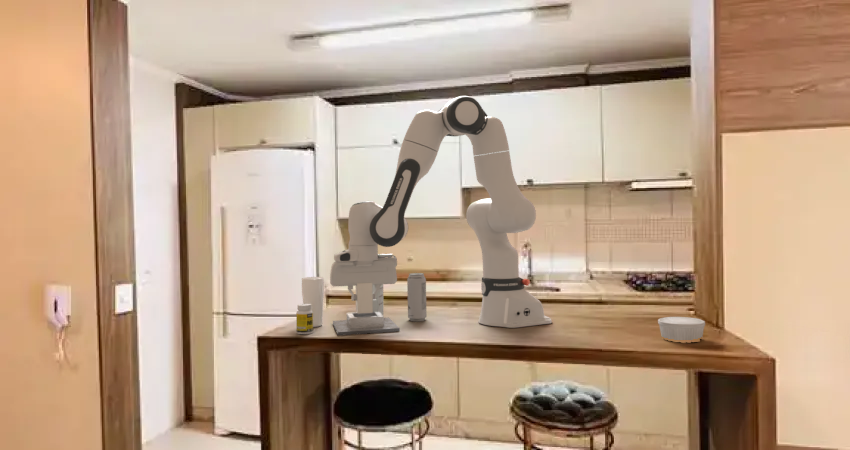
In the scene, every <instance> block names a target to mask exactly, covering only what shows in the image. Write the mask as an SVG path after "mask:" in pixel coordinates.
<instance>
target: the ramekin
mask: <svg viewBox="0 0 850 450" xmlns="http://www.w3.org/2000/svg"><path fill="white" fill-rule="evenodd" d="M657 323H658V325H659V332H660V334H661V338H662V337H664V338H668V339H674V340H693V339H698V338H701V337H702V338H703V337H704V330H705V326H706V321H705V320H702V319H700V318H696V317H687V316H666V317H660V318H658V319H657Z"/></svg>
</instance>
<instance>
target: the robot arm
mask: <svg viewBox="0 0 850 450" xmlns="http://www.w3.org/2000/svg"><path fill="white" fill-rule="evenodd" d="M448 136H449V137H459V136H460V137H461V136H466V137H467V138H468V139H469V140H470V142H471V146H472V154H473V161H474V169H475V176H476V177H475V178H476V181H477V182H478V183H479V184H480V185H481V186H482V187H484V189H485V190H486V192H487V193H488V195H489V197H488V198H487V197H486V198H482V199H478V200H476V201H473V202H471V204H469V206H468V207H467V209H466V214H465V217H466V222H467V224H468V226H469V227H470V228H471V229H472V230H473V231H474V233H475V235H476V237H477V240H478V242H479V247H480V251H481V259H482V277H481V295H482V301H481V308H480V309H481V310H480V314H479V318H478V323H479V324H481V325H485V326H490V327H491V326H492V327H503V328H508V329H509V328H510V329H514V328H523V327H531V326H538V325H539V326H540V325H549V324H552V318H551V317H549V316H547V315H545V312H544V306H543V304H542V301H540V300H539V299H538V298H537V297H535V296H534V295H533V294H532V293H530V291H528V290H526V289H525V286H526V287H528V286H530V284H531V281H530V279H529V278H522V277H520V276H519V274H520V273H519V252H518V250H517V249H516V248H515V247H514V246H513V245H512V244H511V242H510V240H509V238H508V234H517V233H523V232H525V231H528V230H530V229H531V228H532V227H533V225H534V224H535V221H536V218H537V210H536V208H535V207H536V206H535V205H534V204H533V202H532V201H531V200H530V199H528V198H527V197H526V196H525V195H524V194H523V193H522V190H521V189H520V188H519V186H518V184H517V182H516V179H515V176H514V173H513V172H514V171H513V168H512V167H513V165H512V162H511V155H510V147H509V141H508V137H507V133H506V129H505V127H504V125H503V122H502V121H501V120H500V119H499V118H497V117H494V116H488V114H487V113H486V112H485V110H484V108H482V105H481V104H480V103H479V102H478V100H477V99H475V98H474V97H471V96H468V95H460V96H457V97H455V98H453V99H450V100H448V102H447V103H445V105H444V106H443V107H441V108H440V109H439V110H438V111H434V110H430V109H424V110H423V109H422V110H420V111H417V113H415V115H414V117H413V118H412V119H411V122H410V124H409V126H408V128H407V129H406V132H405V134H404V137H403V140H402V143H401V146H400V150H399V155H398V159H397V164H396V165H397V166H396V171H395V175H394V178H393V181H392V183H391V184H392V185H391V187H390V189H389V192H388V194H387V197H386V199H385V202H384V204H383V206H381V205H379V204H378V203H377V202H376V201H374V200H367V201H359V202H356V203H354V204H352V206H351V207H350V208H349V211H348V220H347V221H348V222H347V223H348V225H347V226H348V235H349V241H348V248H347V249H346V250H342V251H339V252H337V253H335V254H334V255H333V259H334V262H333V263H332V264H331V269H330V273H329V274H330V275H329V283H330V285H331V286H332V287H347V290H348V291H349V292H348V293H350V295H351V301H355V302H356V300H357V295H356V293H354V292H353V290H354V286H355V287H356V286H357V283H372V285H374V287H375V288H376V289H375V291H374V293H372V300H376V294H377V293H378V291H379V289H380V285H381V284H383V285H395V284H396V283H397V281H398V276H397V266H398V258H397V257H396V256H395V255H393V253H387V254H385V253H379V246H380V247H384V248H389V247H393V246H396V245H397V244H398V243H400V242H401V241H402V240H404V238H406V236H407V235H408V231H409V223H408V220H407V219H406V218H405V213H406V211H407V208H408V205H409V203H410V200H411V198H412V196H413V195H412V194H413V192H414V189H415V188H416V185H417V184H418V182H420V181H421V179H423V178H424V177H425V176H426V175H427V174H428V173H429V172H430V170H431V168H432V167H433V164H435V160H436V158H437V156H438V153H439V150H440V147H441V144H442V142H443V140H444V138H446V137H448Z"/></svg>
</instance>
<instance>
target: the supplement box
mask: <svg viewBox="0 0 850 450" xmlns="http://www.w3.org/2000/svg"><path fill="white" fill-rule="evenodd" d="M375 289H376V288H375V287H374V285H372V293H374V291H375ZM373 311H379V312H380V313H381V314H382V315H383V316H384V284H381V285H380V289H379V291H378V293H377V294H376V300H373Z"/></svg>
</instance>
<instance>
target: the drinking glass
mask: <svg viewBox="0 0 850 450" xmlns="http://www.w3.org/2000/svg"><path fill="white" fill-rule="evenodd" d="M324 280H325V278H324V277H323V276H311V277H310V276H307V277H302V278H301V295H302V296H301V297H302V304H311V307H312V308H311V310H312V312H313V328H317V327H322V325H323V312H324V296H325V295H324V293H325V284H324V283H325V281H324Z"/></svg>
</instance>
